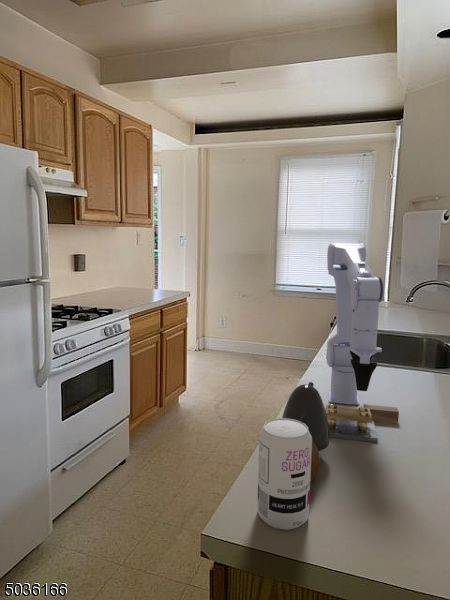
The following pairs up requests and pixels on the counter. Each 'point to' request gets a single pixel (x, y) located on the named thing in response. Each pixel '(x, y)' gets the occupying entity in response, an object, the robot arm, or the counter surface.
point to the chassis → (352, 428)
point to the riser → (383, 413)
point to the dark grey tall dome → (309, 414)
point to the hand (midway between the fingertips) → (361, 385)
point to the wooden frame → (348, 413)
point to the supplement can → (284, 473)
